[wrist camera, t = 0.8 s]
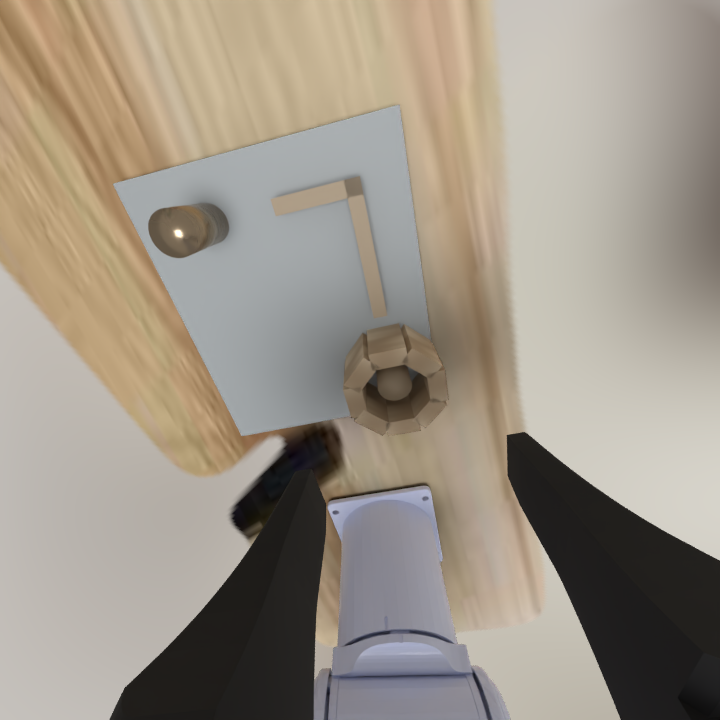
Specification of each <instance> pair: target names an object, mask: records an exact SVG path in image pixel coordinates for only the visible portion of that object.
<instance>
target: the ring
mask: <svg viewBox="0 0 720 720" xmlns="http://www.w3.org/2000/svg"><path fill="white" fill-rule="evenodd" d="M400 365H406V366H408V367H410V368H411V369H413V370H415V371H417V372H418V374H417V376H416V377H415V378H414V379H413V380H412V389H411V391H410V393H409V394H408V395H407V396H406V397H405V398H403V399H401V400H396V401H392V400H387V399H385V398H383V397H382V396H381V395H380V393H379V391H378V387H376V386H374V385H372V384H370V383H368V381H369V380H370V378H371V377H372V376H373V374H374V373H375V372H376V370H380V369H385V368H390V367H395V366H400ZM343 392H344V395H345V399H346V402H347V405H348V409H349V412H350V415H351V418H355V422H356V423H358V424H360V425H362V426H364V427H366V428H368V429H370V430H372V431H374V432H376V433H378V434H380V435H382V436H383V435H384V434H385V432H386V431H387V434H388V436H393V435H398V434H404V433H410V432H415V431H421V428H420V425H421V426H423V427H425V428H426V427H427V426H428V425H429V424H430V423H431V422H432V421H433V419H434V418H435V417H436V416H437V415H438V414H439V413H440V412H441V411H442V410H443V409H444V408H445V406H446V405H447V403H446V401H447V400H449V398H448V390H447V381H446V373H445V369H444V367H443V365H442V362H441V360H440V358H439V356H438V354H437V352H436V350H435V347H434V345H433V344H432V343H431V340H430V339H428V338H426V337H425V336H423V335H421V334H420V333H418V332H416V331H415V330H413V329H412V328H410V327H408V326H407V325H405V324H404V325H403V326H402V328H400V325H399V323H397V324H393V325H388V326H383V327H378V328H374V329H369V330H367V335H366V334H364V333H362V334H361V336H360V337H359V339H358V340H357V341H356V343H355V344H354V346H353V347H352V349H351V350H350V352H349V353H348V355H347V356H346V360H345V368H344V382H343Z"/></svg>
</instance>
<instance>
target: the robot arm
mask: <svg viewBox="0 0 720 720" xmlns="http://www.w3.org/2000/svg"><path fill="white" fill-rule="evenodd" d="M507 461H508V477H509V480H510V482H511V485H512V487H513V490H514V492H515V494H516V497H517V499H518V501H519V504H520V506H521V507H522V509H523V511H524V513H525V515H526V517H527V518H528V520H529V522H530V524H531V526H532V527H533V529H534V531H535V533H536V535H537V536H538V538H539V540H540V542H541V544H542V545H543V547H544V549H545V551H546V553H547V554H548V556H549V558H550V560H551V562H552V563H553V565H554V567H555V569H556V571H557V573H558V574H559V577H560V579H561V581H562V583H563V585H564V587H565V589H566V591H567V593H568V596H569V598H570V600H571V603H572V605H573V607H574V609H575V611H576V614H577V616H578V618H579V620H580V623H581V625H582V627H583V630H584V632H585V634H586V637H587V639H588V641H589V643H590V646H591V648H592V650H593V653H594V655H595V657H596V660H597V662H598V664H599V667H600V670H601V672H602V674H603V677H604V679H605V681H606V684H607V686H608V689H609V691H610V694H611V696H612V698H613V701H614V704H615V706H616V709H617V711H618V714H619V716H620V719H621V720H720V561H719V560H717V559H715V558H713V557H712V556H710V555H708V554H706V553H704V552H702V551H700V550H698V549H696V548H695V547H693V546H691V545H689V544H687V543H685V542H683V541H681V540H679V539H678V538H676V537H674V536H672V535H670V534H668V533H667V532H665V531H663V530H661V529H659V528H658V527H656V526H654V525H653V524H651V523H649V522H647V521H646V520H644V519H642V518H641V517H639V516H638V515H636V514H635V513H633V512H631V511H630V510H628V509H627V508H625V507H623V506H622V505H620V504H619V503H617V502H616V501H614V500H613V499H611V498H610V497H609V496H607V495H606V494H604V493H603V492H601V491H600V490H598V489H597V488H595V487H594V486H593V485H591V484H590V483H589V482H587V481H586V480H584V479H583V478H582V477H580V476H579V475H578V474H576V473H575V472H574V471H572V470H571V469H570V468H569V467H567V466H566V465H565V464H563V463H562V462H561V461H560V460H558V459H557V458H556V457H554V456H553V455H552V454H551V453H550V452H549V451H547V450H546V449H545V448H544V447H542V446H541V445H540V444H539V443H538V442H536V441H535V440H534V439H533V438H532V437H531V436H529V435H528V434H527V433H525V432H522V433H517V434H511V435H507ZM424 496H425V497H424ZM328 510H329V513H330V515H331V518H332V520H333V523H334V525H335V528H336V530H337V532H338V535H339V537H340V540H341V542H342V555H341V578H340V601H339V623H338V646H337V647H334V648H333V664H332V671H331V668H326V669H322V670H320V672H319V674H318V676H317V677H316V679H315V680H314V662H315V659H314V658H315V632H316V611H317V600H318V592H319V584H320V576H321V568H322V560H323V552H324V544H325V535H326V503H325V500H324V498H323V496H322V493H321V491H320V488H319V486H318V483H317V481H316V478H315V476H314V474H313V471H312V469H306V470H300V471H296V472H295V473H294V475H293V477H292V479H291V480H290V482H289V484H288V486H287V488H286V489H285V491H284V493H283V495H282V497H281V498H280V500H279V502H278V504H277V506H276V507H275V509H274V511H273V512H272V514H271V516H270V517H269V519H268V521H267V522H266V524H265V526H264V527H263V529H262V530H261V532H260V533H259V535H258V537H257V538H256V540H255V541H254V543H253V544H252V546H251V547H250V549H249V550H248V552H247V553H246V555H245V556H244V558H243V559H242V560H241V562H240V563H239V564H238V566H237V567H236V568H235V570H234V571H233V572H232V574H231V575H230V576H229V578H228V579H227V580H226V582H225V583H224V584H223V585H222V587H221V588H220V589H219V590H218V591H217V593H216V594H215V595H214V596H213V598H212V599H211V600H210V601H209V602H208V604H207V605H206V606H205V607H204V608H203V609H202V611H201V612H200V613H199V614H198V615H197V616H196V617H195V618H194V619H193V621H191V622H190V624H189V625H188V626H187V627H186V628H185V629H184V630H183V631H182V632H181V633H180V634H179V635H178V636H177V638H176V639H175V640H174V641H173V642H172V643H171V644H170V645H169V646H168V647H167V648H166V649H165V650H164V651H163V652H162V653H161V654H160V655H159V656H158V657H157V658H156V659H155V660H153V661H152V662H151V663H150V664H149V665H148V666H147V667H146V668H145V669H144V670H143V671H142V672H141V673H140V674H139V675H138V676H137V677H136V678H135V679H134V680H133V681H132V682H131V683H129V684H128V685H127V687H125V688H124V691H123V693H122V694H121V697H120V698H119V701H118V703H117V705H116V707H115V709H114V711H113V713H112V716H111V718H110V720H511V719H510V716H509V713H508V710H507V708H506V705H505V702H504V700H503V698H502V696H501V693H500V691H499V690H498V688H497V686H496V685H495V684H494V682H493V681H492V680H491V679H490V678H489V677H488V675H487V674H486V672H485V671H484V670H483V669H482V668H481V667H479V666H471V665H470V661H469V656H468V652H467V648H466V645H464V644H458V643H457V639H456V634H455V629H454V625H453V620H452V616H451V611H450V606H449V602H448V597H447V593H446V588H445V583H444V579H443V574H442V570H441V565H440V562H441V561H442V560H443V556H442V551H441V545H440V540H439V534H438V528H437V523H436V517H435V512H434V506H433V501H432V495H431V490H430V488H429V487H428V486H418V487H412V488H406V489H399V490H393V491H387V492H381V493H374V494H368V495H362V496H356V497H349V498H343V499H337V500H332V501H330V502H329V503H328Z"/></svg>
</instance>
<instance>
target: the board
mask: <svg viewBox="0 0 720 720" xmlns="http://www.w3.org/2000/svg"><path fill="white" fill-rule="evenodd" d="M113 185H114V187H115V189H116V191H117V193H118V195H119V197H120V199H121V201H122V203H123V205H124V207H125V209H126V211H127V213H128V215H129V216H130V218H131V220H132V222H133V224H134V226H135V228H136V230H137V232H138V234H139V236H140V238H141V240H142V242H143V244H144V246H145V248H146V250H147V252H148V254H149V256H150V257H151V259H152V261H153V263H154V265H155V267H156V269H157V271H158V273H159V275H160V277H161V279H162V281H163V283H164V285H165V287H166V289H167V291H168V293H169V295H170V297H171V299H172V300H173V302H174V304H175V306H176V308H177V310H178V312H179V314H180V316H181V318H182V320H183V322H184V324H185V326H186V328H187V330H188V332H189V334H190V336H191V338H192V340H193V342H194V343H195V345H196V347H197V349H198V351H199V353H200V355H201V357H202V359H203V361H204V363H205V365H206V367H207V369H208V371H209V373H210V375H211V377H212V379H213V381H214V383H215V384H216V386H217V388H218V390H219V392H220V394H221V396H222V398H223V400H224V402H225V404H226V406H227V408H228V410H229V412H230V414H231V416H232V418H233V420H234V422H235V424H236V426H237V427H238V429H239V431H240V433H241V435H242V436H245V435H250V434H256V433H261V432H267V431H272V430H277V429H283V428H288V427H294V426H299V425H304V424H310V423H315V422H321V421H326V420H331V419H337V418H342V417H348V416H351V415H350V412H349V409H348V405H347V402H346V399H345V395H344V392H343V382H344V368H345V360H346V356H347V355H348V353H349V352H350V350H351V349H352V347H353V346H354V344H355V343H356V341H357V340H358V339H359V337H360V336H361V334H362V333H364V334H366V335H367V330H369V329H374V328H378V327H383V326H388V325H393V324H397V323H399V325H400V328H402V326H403V325H404V324H405V325H407V326H408V327H410V328H412V329H413V330H415V331H416V332H418V333H420V334H421V335H423V336H425V337H426V338H428V339H430V340H431V334H430V326H429V319H428V312H427V304H426V297H425V290H424V282H423V275H422V267H421V260H420V253H419V245H418V238H417V231H416V223H415V216H414V209H413V201H412V194H411V186H410V179H409V172H408V164H407V157H406V150H405V142H404V135H403V128H402V120H401V113H400V105H396V106H392V107H389V108H385V109H382V110H378V111H374V112H371V113H367V114H363V115H360V116H356V117H353V118H349V119H345V120H342V121H338V122H335V123H331V124H327V125H324V126H320V127H317V128H313V129H309V130H306V131H302V132H298V133H295V134H291V135H288V136H284V137H280V138H277V139H273V140H270V141H266V142H262V143H259V144H255V145H252V146H248V147H244V148H241V149H237V150H233V151H230V152H226V153H223V154H219V155H215V156H212V157H208V158H205V159H201V160H197V161H194V162H190V163H187V164H183V165H179V166H176V167H172V168H168V169H165V170H161V171H158V172H154V173H150V174H147V175H143V176H140V177H136V178H132V179H129V180H125V181H122V182H118V183H114V184H113ZM199 203H210V204H213V205H215V206H217V207H218V208H220V209H221V210H222V211H223V213H224V214H225V215H226V217H227V220H228V223H229V232H228V235H227V237H226V238H225V239H224V240H223V241H222V242H220V243H218V244H216V245H213V246H211V247H209V248H206V249H204V250H202V251H199V252H197V253H195V254H192V255H190V256H188V257H185V258H173V257H170V256H168V255H166V254H164V253H162V252H161V251H160V250H159V249H158V248H157V247H156V246H155V245H154V243H153V242H152V240H151V238H150V235H149V231H148V223H149V219H150V217H151V215H152V214H153V213H154V212H155V211H157V210H158V209H161V208H168V207H175V206H183V205H191V204H199ZM431 343H432V341H431ZM417 374H418V372H417V371H415V370H413V369H411V368H410V367H408V366H406V365H400V366H395V367H390V368H385V369H380V370H376V372H375V373H374V374H373V376H372V377H371V378H370V380H369V381H368V383H370V384H372V385H374V386H376V387H378V391H379V393H380V395H381V396H382V397H383V398H385V399H387V400H392V401H396V400H401V399H403V398H405V397H406V396H407V395H408V394H409V393H410V391H411V389H412V380H413V379H414V378H415V377H416V376H417Z"/></svg>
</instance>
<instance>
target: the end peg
mask: <svg viewBox="0 0 720 720" xmlns="http://www.w3.org/2000/svg"><path fill="white" fill-rule="evenodd" d="M148 231H149V235H150V238H151V240H152V242H153V243H154V245H155V246H156V247H157V248H158V249H159V250H160V251H161V252H162V253H164V254H166V255H168V256H170V257H173V258H185V257H188V256H190V255H192V254H195V253H197V252H199V251H202V250H204V249H206V248H209V247H211V246H213V245H216V244H218V243H220V242H222V241H223V240H224V239H225V238H226V237H227V235H228V232H229V223H228V220H227V217H226V215H225V214H224V213H223V211H222V210H221V209H220V208H218V207H217V206H215V205H213V204H210V203H199V204H191V205H183V206H175V207H168V208H161V209H158V210H157V211H155V212H154V213H153V214H152V215H151V217H150V219H149V223H148Z"/></svg>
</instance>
